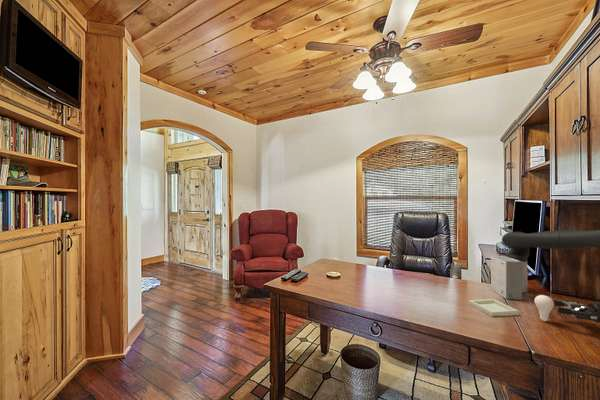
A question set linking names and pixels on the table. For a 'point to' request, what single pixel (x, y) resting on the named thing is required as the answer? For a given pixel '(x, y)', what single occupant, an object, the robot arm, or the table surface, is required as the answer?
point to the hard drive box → (506, 277)
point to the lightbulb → (544, 306)
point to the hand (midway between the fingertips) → (553, 306)
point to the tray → (493, 307)
